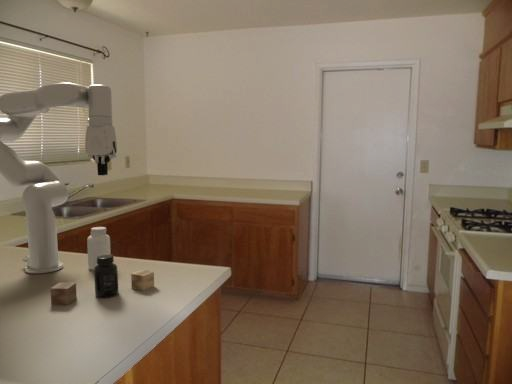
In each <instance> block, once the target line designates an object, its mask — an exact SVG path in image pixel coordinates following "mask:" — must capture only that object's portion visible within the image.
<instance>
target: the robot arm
mask: <svg viewBox="0 0 512 384" xmlns="http://www.w3.org/2000/svg"><path fill="white" fill-rule="evenodd" d="M112 102H113V101H112V88H111V87H110V86H108V85H105V84H91V85H89V86H86V85H82V84H77V83H73V82H58V83H51V84H44V85H41V86H40V87H38V88H32V89H27V90H19V91H12V92H6V93H3V94H2V95H0V112H1V114H4V115H5V116H7V118H3V117H0V174H1V176H3V177H4V178H5V180H6V181H7V182H8V183H9V184H10V185H12V186H13V187H15V188H19V189H22V188H25V189H24V190H23V192H22V195H21V196H22V197H21V198H22V203H23V207H24V212H25V217H26V228H27V229H26V230H27V245H28V246H27V247H28V254H27V255H25V257H23V258H22V262H23V263H27V264H26V266H25V267H24V272H25V273H27V274H34V275H35V274H37V275H38V274H47V273H48V274H49V273H53V272H56V271H59V270H60V269H62V268H64V263H63V261H60V260H59V248H58V229H57V228H58V227H57V218H56V215H55V212H54V210H53V208H54V207H58V206H61V205H63V204H65V203H66V202H67V200H68V199H69V190H68V188H67V185H66V184H65V183H64V182H63V181H62V180H61V179H60V178H59V177H58V176H57V175H56V173H54V171H53V170H52V169H51V168H50V167H49V166H48V165H46V164H45V163H43V162H41V161H38V160H24V159H23V158H22V157H20V155H18V154H17V153H16V151H15V150H14V149H13V148H11V147H10V146H8V145H6V144H5V143H3V142H15V141H17V140H19V139H20V138H22V137H23V135H24V134H25V133H26V132H27V130H28V128H29V127H30V126H31V125H32V123H33V122H34V120H35V119H36V118H37V115H40V114H41V115H42V114H46V113H48V112H49V111H50V110H51V109H52V108H57V107H58V108H59V107H67V106H68V107H76V108H82V109H83V108H84V109H86V108H88V118H87V119H86V122H87V123H88V124H89V125H87V126H86V130H85V140H84V141H85V143H84V148H85V153H86V154H87V156H88V158H89V159H93V160H94V162H95V165H96V167H97V168H96V169H97V175H98V176H107V175H108V174H109V173H108V172H109V171H108V170H109V168H108V167H109V166H108V165H109V163H110V161H111V160H113V159H116V158H117V155H116V154H117V152H118V143H117V135H116V129H115V126H114V125H113V104H112Z"/></svg>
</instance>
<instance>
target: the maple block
mask: <svg viewBox="0 0 512 384" xmlns="http://www.w3.org/2000/svg"><path fill="white" fill-rule="evenodd" d="M130 274H131V275H130V276H131V277H130V279H131V281H130V282H131V283H130V284H131V289H132V290H133V289H134V290H136V289H137V290H138V291H141V290H142V292H145V291H147V290H149V289H152V288H154V287H155V272H154V271H152V270H147V269H139V270H137V271H134V272H132V273H130ZM153 286H154V287H153ZM151 287H152V288H151Z"/></svg>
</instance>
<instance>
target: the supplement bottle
mask: <svg viewBox="0 0 512 384" xmlns="http://www.w3.org/2000/svg"><path fill="white" fill-rule="evenodd" d="M114 262H115V261H114V255H113V254H111V255H101V256H98V257H97V264H98V265H97V266H95V268H94V270H93V275H94V277H93V278H94V279H93V281H94V293H95V296H96V297H97V298H101V299H104V298H105V299H106V298H113V297H115V296H116V295H118V294H119V275H118V274H119V273H118V272H119V271H118V266H117V264H116V263H114Z"/></svg>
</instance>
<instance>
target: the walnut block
mask: <svg viewBox="0 0 512 384" xmlns="http://www.w3.org/2000/svg"><path fill="white" fill-rule="evenodd" d="M75 300H77V283H76V282H58V283H56V284H55V285H54V286H52V287H50V303H51V304H50V305H52V306H70V304H72V303H73V302H75Z"/></svg>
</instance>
